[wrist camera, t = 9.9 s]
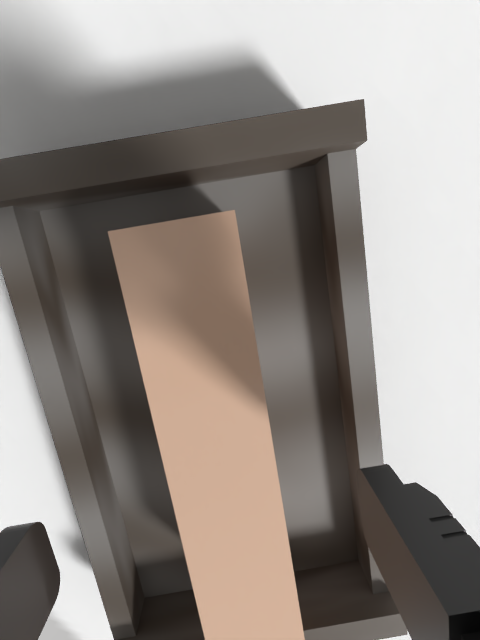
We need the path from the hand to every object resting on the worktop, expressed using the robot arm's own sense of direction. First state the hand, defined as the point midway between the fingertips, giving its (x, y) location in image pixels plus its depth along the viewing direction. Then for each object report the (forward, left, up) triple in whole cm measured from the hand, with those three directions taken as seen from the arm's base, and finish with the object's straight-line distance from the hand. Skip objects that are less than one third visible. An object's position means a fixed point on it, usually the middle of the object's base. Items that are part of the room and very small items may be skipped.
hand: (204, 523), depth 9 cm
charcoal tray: (0, 0, -8) cm, 8 cm away
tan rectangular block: (0, 0, -7) cm, 7 cm away
